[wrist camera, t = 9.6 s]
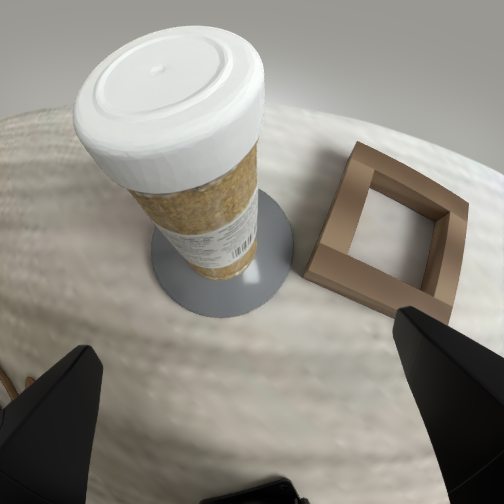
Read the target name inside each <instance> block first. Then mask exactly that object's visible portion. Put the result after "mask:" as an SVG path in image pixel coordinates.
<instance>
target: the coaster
mask: <svg viewBox="0 0 504 504" xmlns="http://www.w3.org/2000/svg"><path fill="white" fill-rule="evenodd" d="M256 239H257V249H256V253H255V257H254V259H253V261H252V262H251V263H250V265H249V267H248V268H247V269H245V271H244V272H243V273H241V274H240V275H238V276H236V277H234V278H231V279H227V280H215V281H214V280H210V279H208V278H204V277H203V276H201V275H199V274H198V273H197V272H196V271H195V270H194V269H193V268H191V267H190V265H189V263H188V261H187V260H186V259H185V258H184V257H183V256H182V255H181V254H180V253H179V252H178V251H177V250H176V248H175V247H174V246H173V245H172V244H171V243H170V241H169V240H168V239H167V238H166V237H165V236H164V234H163V233H162V232H161V231H160V230H159V229H158V228H157V227H156V228H155V231H154V234H153V239H152V249H151V254H152V263H153V267H154V271H155V274H156V276H157V279H158V281H159V282H160V284H161V286H162V287H163V289H164V290H165V291H166V293H167V294H168V295H169V296H170V297H171V298H172V299H173V300H174V301H175V302H177V303H178V304H179V305H181V306H182V307H184V308H186V309H187V310H189V311H192V312H194V313H197V314H199V315H203V316H207V317H214V318H230V317H235V316H240V315H243V314H246V313H249V312H251V311H253V310H255V309H257V308H259V307H260V306H262V305H263V304H265V303H266V302H267V301H268V300H269V299H270V298H272V297H273V295H274V294H275V293H276V292H277V291H278V290H279V288H280V287H281V285H282V284H283V282H284V280H285V278H286V276H287V274H288V272H289V269H290V266H291V263H292V257H293V235H292V231H291V227H290V224H289V222H288V219H287V217H286V216H285V214H284V212H283V210H282V209H281V208H280V206H279V205H278V204H277V203H276V202H275V201H274V200H273V199H272V198H271V197H270V196H269V195H267V194H266V193H265V192H263V191H262V190H260V189H258V213H257V232H256Z"/></svg>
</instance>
